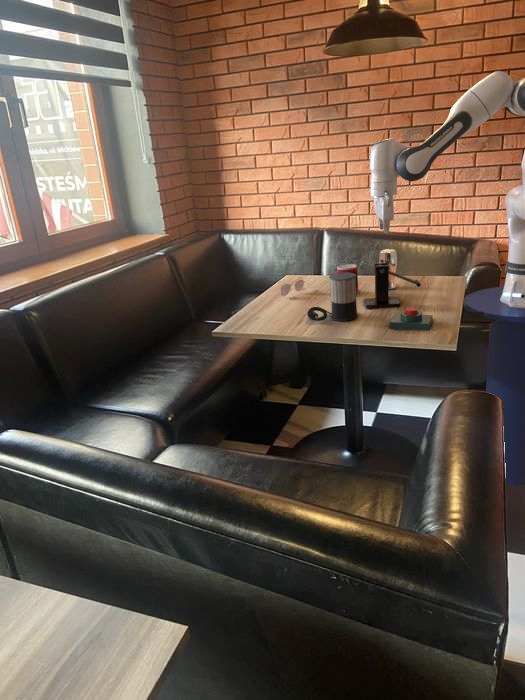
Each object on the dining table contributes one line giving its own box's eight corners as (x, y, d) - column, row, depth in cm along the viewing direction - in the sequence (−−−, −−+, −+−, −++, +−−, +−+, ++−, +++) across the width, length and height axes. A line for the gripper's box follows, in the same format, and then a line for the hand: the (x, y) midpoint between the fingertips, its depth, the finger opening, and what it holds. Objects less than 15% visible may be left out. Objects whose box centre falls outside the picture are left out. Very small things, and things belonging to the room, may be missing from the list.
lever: (416, 285, 196) (419, 279, 195) (418, 288, 191) (422, 282, 191) (375, 269, 196) (378, 263, 195) (377, 272, 191) (380, 266, 190)
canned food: (339, 290, 220) (338, 264, 216) (359, 290, 218) (358, 263, 214) (336, 295, 213) (335, 268, 209) (357, 295, 211) (355, 268, 207)
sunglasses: (304, 289, 227) (304, 278, 224) (317, 295, 221) (318, 284, 219) (279, 297, 219) (279, 285, 217) (292, 303, 213) (292, 291, 211)
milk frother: (363, 316, 185) (362, 274, 180) (328, 327, 178) (325, 284, 173) (337, 309, 197) (334, 269, 192) (302, 319, 189) (299, 278, 184)
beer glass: (386, 284, 222) (385, 248, 217) (400, 286, 218) (400, 249, 212) (376, 288, 218) (375, 252, 213) (391, 290, 213) (390, 253, 208)
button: (418, 312, 172) (418, 307, 172) (416, 316, 169) (416, 311, 169) (406, 312, 174) (406, 307, 173) (404, 315, 171) (404, 310, 170)
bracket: (397, 299, 201) (397, 260, 196) (400, 306, 193) (400, 266, 187) (364, 301, 202) (363, 262, 197) (366, 308, 194) (365, 268, 189)
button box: (432, 321, 174) (432, 309, 173) (428, 330, 167) (428, 318, 165) (395, 319, 179) (395, 308, 178) (389, 328, 172) (389, 316, 170)
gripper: (398, 191, 172) (398, 235, 177) (388, 187, 191) (388, 226, 196) (378, 193, 173) (379, 236, 178) (370, 188, 192) (371, 227, 197)
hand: (384, 231), depth 187 cm, fingers open, 8 cm apart
